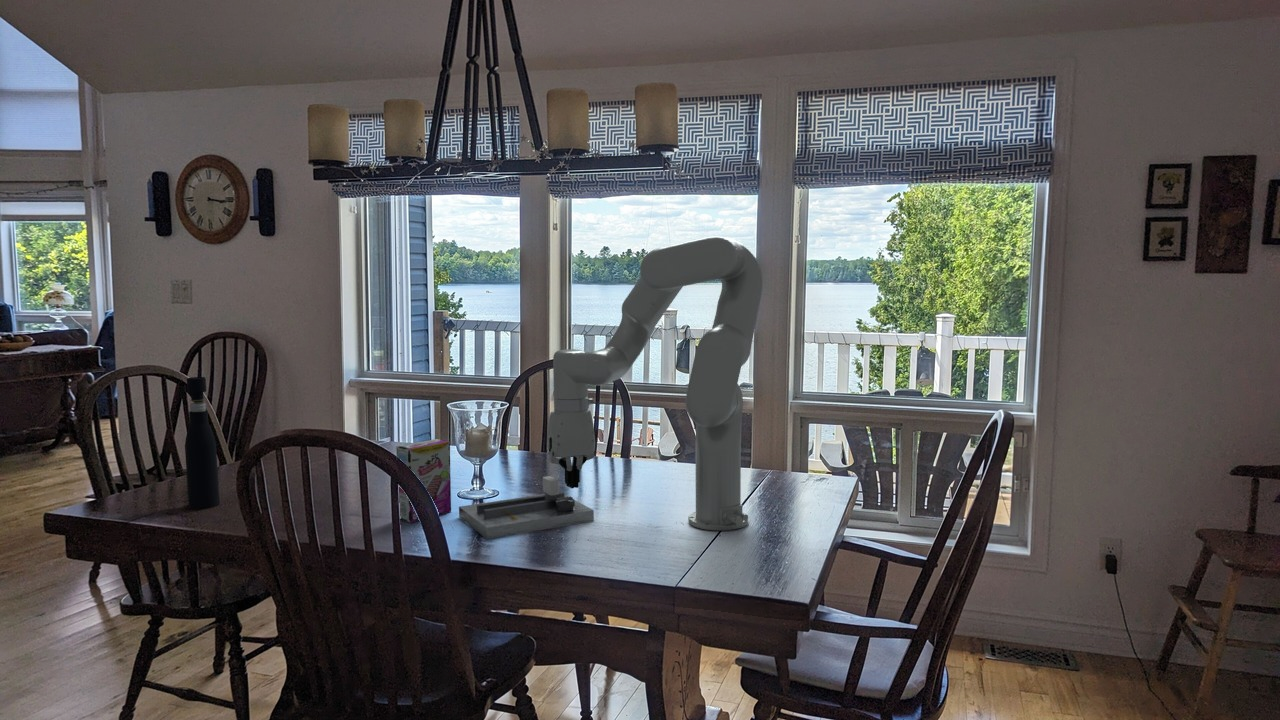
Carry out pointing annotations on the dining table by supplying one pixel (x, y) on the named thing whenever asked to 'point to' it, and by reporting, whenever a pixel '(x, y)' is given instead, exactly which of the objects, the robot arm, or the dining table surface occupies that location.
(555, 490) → the block
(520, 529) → the console
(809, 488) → the dining table surface
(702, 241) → the robot arm
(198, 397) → the black water bottle
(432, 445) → the candy bar box
